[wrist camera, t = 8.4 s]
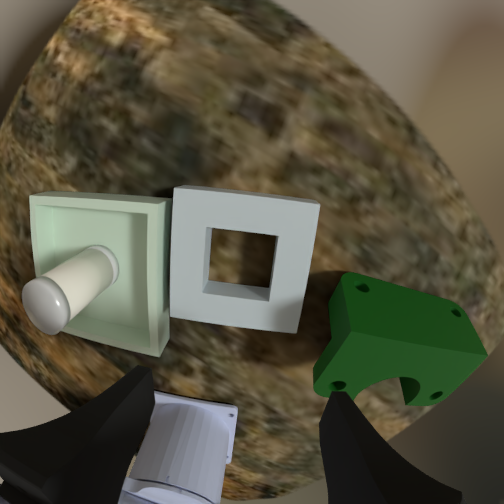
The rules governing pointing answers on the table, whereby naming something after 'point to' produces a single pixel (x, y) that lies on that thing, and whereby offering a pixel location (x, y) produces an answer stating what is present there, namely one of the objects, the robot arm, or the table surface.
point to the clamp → (396, 341)
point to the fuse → (69, 288)
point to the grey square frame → (249, 220)
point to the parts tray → (127, 253)
